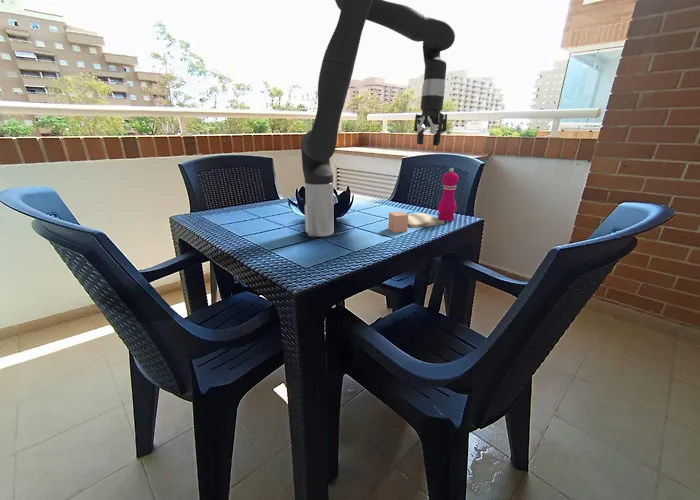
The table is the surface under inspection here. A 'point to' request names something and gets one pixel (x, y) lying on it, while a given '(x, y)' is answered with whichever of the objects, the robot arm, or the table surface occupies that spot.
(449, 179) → the pepper mill
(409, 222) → the birch board
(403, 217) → the terracotta block
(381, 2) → the robot arm
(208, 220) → the table surface
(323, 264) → the table surface
